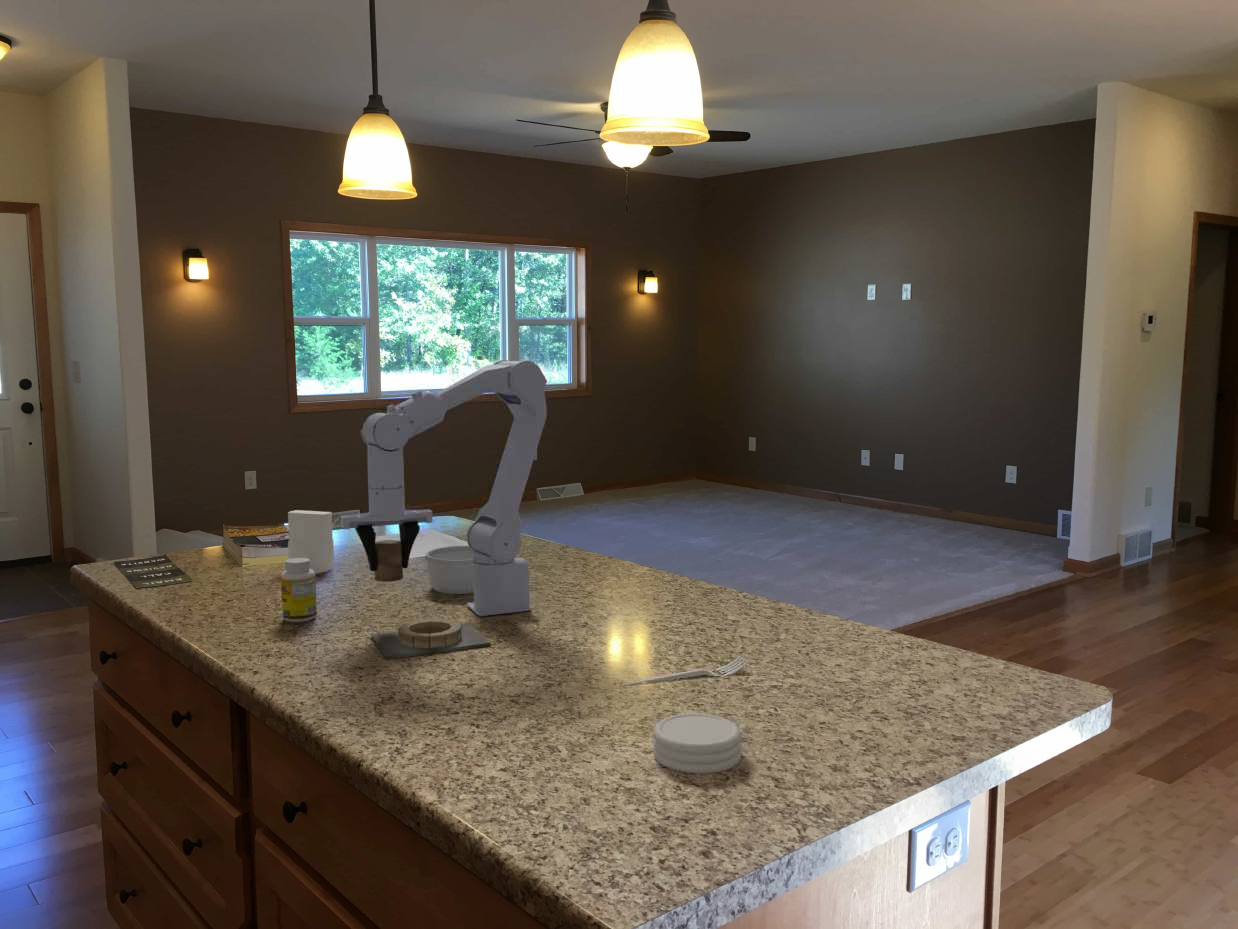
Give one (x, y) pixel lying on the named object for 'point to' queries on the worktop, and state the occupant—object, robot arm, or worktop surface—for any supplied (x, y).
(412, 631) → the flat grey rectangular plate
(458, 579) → the ramekin
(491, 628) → the worktop surface
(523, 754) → the worktop surface
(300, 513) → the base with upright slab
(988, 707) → the worktop surface
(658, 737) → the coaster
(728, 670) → the fork
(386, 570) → the walnut peg
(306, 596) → the supplement bottle
